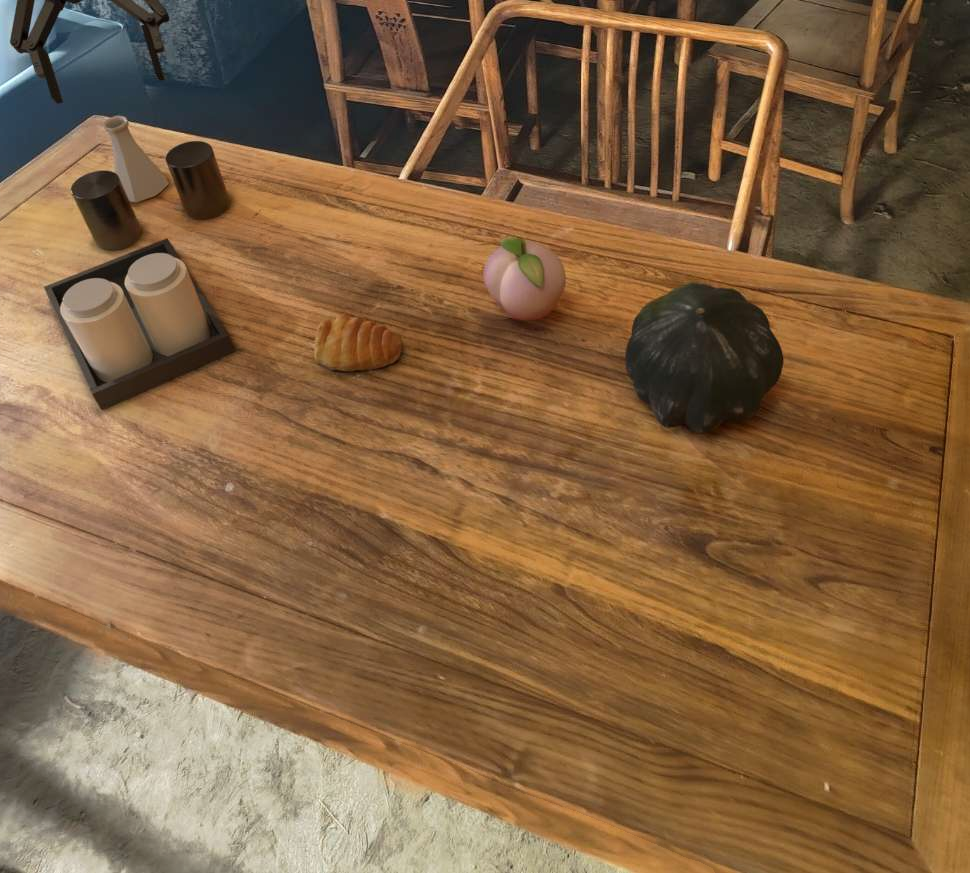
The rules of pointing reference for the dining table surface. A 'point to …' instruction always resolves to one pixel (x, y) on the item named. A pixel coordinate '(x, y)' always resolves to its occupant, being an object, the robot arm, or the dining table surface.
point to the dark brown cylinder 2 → (198, 180)
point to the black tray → (161, 365)
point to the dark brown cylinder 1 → (106, 210)
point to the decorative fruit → (524, 278)
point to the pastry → (355, 344)
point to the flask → (133, 163)
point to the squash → (702, 357)
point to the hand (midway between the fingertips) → (109, 88)
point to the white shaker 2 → (167, 303)
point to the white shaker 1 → (105, 328)
